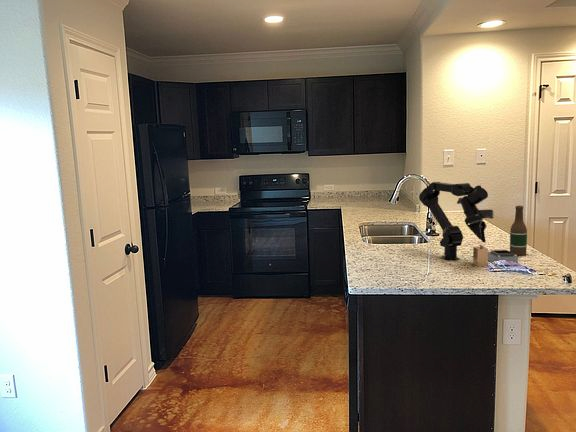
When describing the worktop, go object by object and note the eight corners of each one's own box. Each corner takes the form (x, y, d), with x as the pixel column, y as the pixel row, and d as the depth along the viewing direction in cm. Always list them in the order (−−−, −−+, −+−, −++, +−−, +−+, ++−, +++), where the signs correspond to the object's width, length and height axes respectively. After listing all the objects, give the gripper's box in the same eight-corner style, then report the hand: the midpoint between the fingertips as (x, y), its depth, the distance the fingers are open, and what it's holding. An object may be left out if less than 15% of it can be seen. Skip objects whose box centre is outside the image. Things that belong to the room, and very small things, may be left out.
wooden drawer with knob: (473, 263, 217) (473, 244, 215) (482, 263, 217) (483, 243, 216) (477, 266, 212) (477, 246, 211) (487, 265, 212) (487, 245, 211)
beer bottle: (512, 251, 236) (514, 204, 233) (529, 254, 231) (530, 205, 227) (506, 254, 231) (507, 206, 227) (523, 257, 225) (525, 207, 222)
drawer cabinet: (487, 260, 222) (487, 249, 221) (505, 259, 222) (506, 249, 221) (497, 266, 211) (498, 255, 210) (517, 265, 211) (518, 254, 211)
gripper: (484, 197, 202) (498, 230, 196) (491, 206, 217) (504, 237, 212) (459, 206, 207) (471, 239, 201) (467, 215, 222) (479, 246, 217)
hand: (482, 240), depth 208 cm, fingers open, 9 cm apart
